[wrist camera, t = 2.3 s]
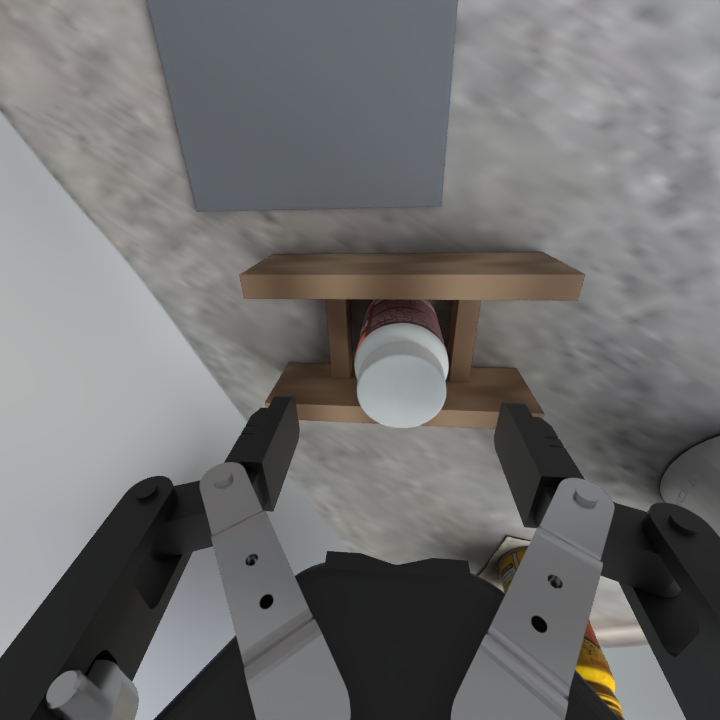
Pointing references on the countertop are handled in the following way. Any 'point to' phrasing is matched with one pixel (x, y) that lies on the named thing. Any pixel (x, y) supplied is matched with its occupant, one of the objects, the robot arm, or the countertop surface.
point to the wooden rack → (409, 282)
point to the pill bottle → (401, 363)
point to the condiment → (590, 654)
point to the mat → (309, 100)
